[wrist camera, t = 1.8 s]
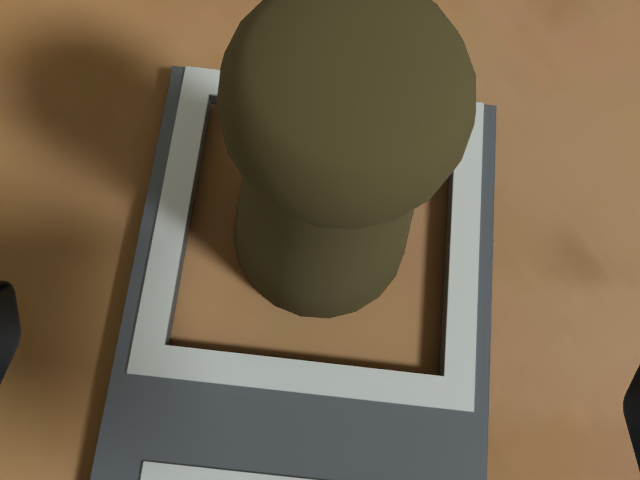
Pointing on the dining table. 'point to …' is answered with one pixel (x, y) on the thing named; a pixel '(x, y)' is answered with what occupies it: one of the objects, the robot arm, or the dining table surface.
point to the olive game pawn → (339, 141)
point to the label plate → (289, 374)
